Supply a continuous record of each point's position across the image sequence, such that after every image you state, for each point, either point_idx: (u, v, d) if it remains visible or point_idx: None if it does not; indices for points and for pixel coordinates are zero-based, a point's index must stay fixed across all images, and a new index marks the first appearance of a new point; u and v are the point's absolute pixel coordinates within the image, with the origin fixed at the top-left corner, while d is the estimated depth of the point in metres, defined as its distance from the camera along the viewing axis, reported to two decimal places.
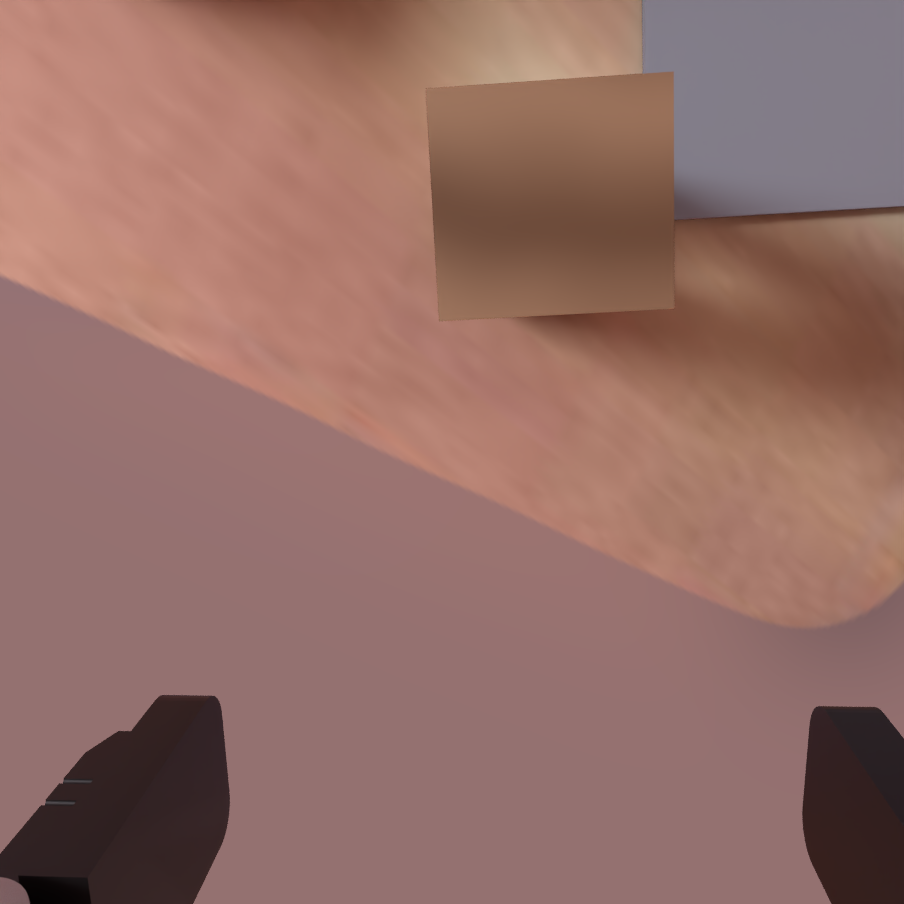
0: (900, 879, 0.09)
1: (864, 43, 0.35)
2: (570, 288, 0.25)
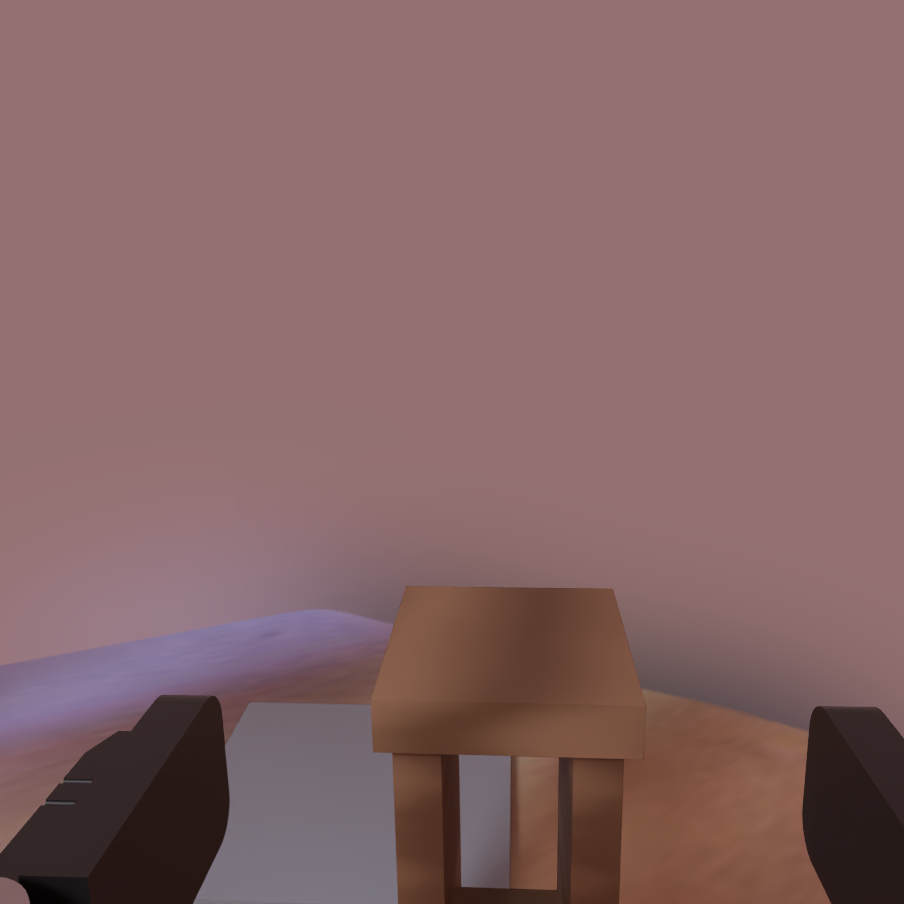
0: (900, 879, 0.09)
1: (371, 761, 0.40)
2: (597, 631, 0.23)
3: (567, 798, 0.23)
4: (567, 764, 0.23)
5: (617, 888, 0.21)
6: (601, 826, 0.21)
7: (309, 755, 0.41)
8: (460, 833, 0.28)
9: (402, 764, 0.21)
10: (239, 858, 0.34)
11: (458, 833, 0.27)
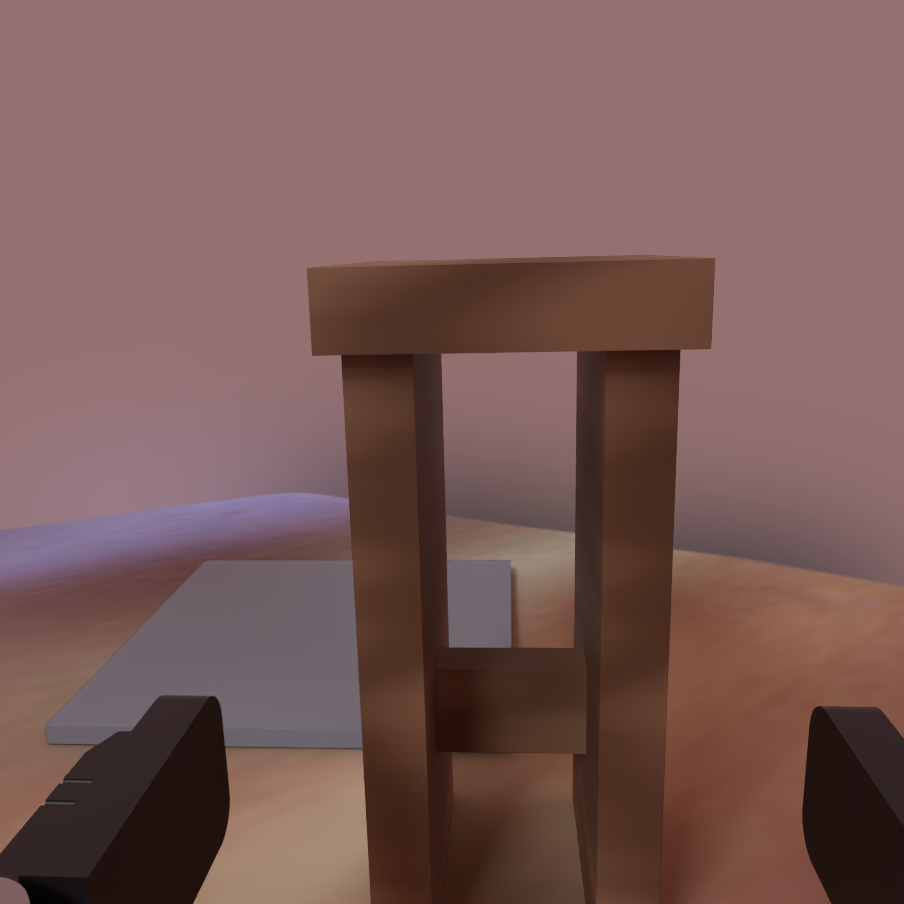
0: (901, 879, 0.09)
1: (345, 605, 0.34)
2: None
3: (593, 477, 0.16)
4: (593, 429, 0.16)
5: (669, 573, 0.15)
6: (646, 473, 0.14)
7: (271, 601, 0.34)
8: (447, 605, 0.22)
9: (357, 386, 0.14)
10: (176, 690, 0.28)
11: (444, 594, 0.21)
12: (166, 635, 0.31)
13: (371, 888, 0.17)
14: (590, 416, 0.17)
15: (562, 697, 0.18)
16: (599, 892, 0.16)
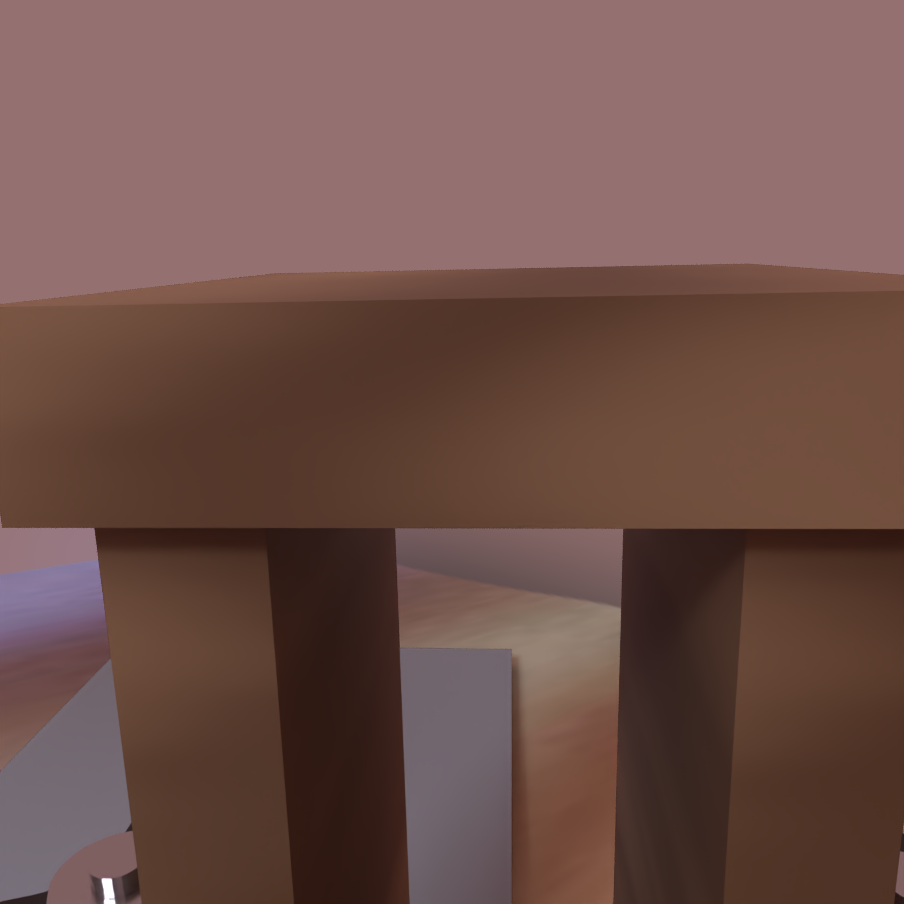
0: None
1: None
2: (752, 271, 0.08)
3: (679, 729, 0.08)
4: (678, 630, 0.08)
5: None
6: (834, 800, 0.06)
7: None
8: (406, 836, 0.13)
9: (135, 587, 0.06)
10: (28, 885, 0.19)
11: (398, 835, 0.12)
12: (41, 776, 0.23)
13: None
14: (669, 591, 0.08)
15: None
16: None
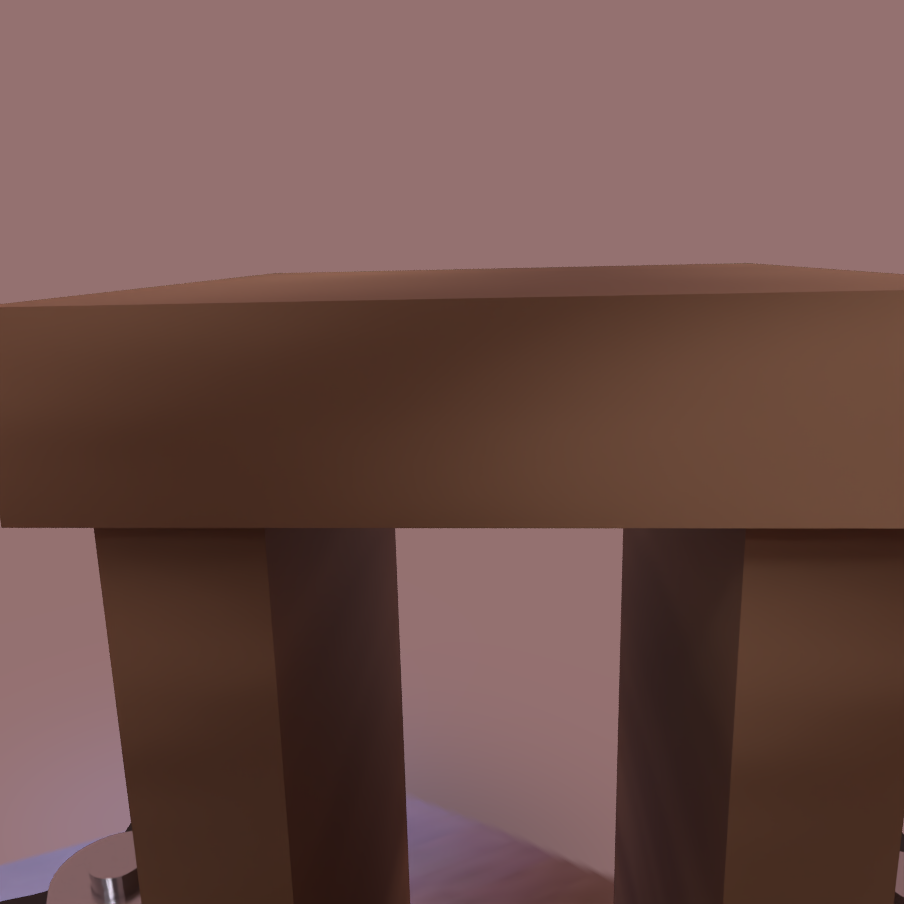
0: None
1: None
2: (752, 270, 0.08)
3: (679, 728, 0.08)
4: (678, 630, 0.08)
5: None
6: (832, 801, 0.06)
7: None
8: None
9: (135, 587, 0.06)
10: None
11: (398, 835, 0.12)
12: None
13: None
14: (668, 591, 0.08)
15: None
16: None
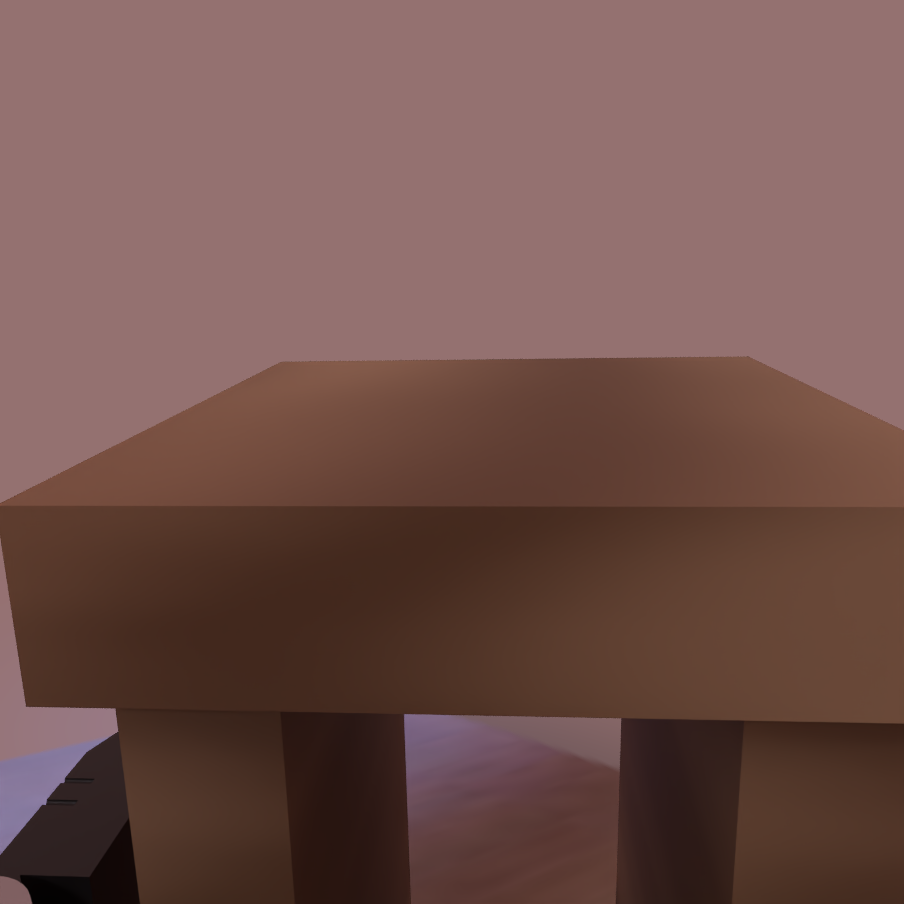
0: None
1: None
2: (752, 394, 0.09)
3: (679, 850, 0.08)
4: (679, 754, 0.08)
5: None
6: None
7: None
8: None
9: (153, 751, 0.06)
10: None
11: None
12: None
13: None
14: None
15: None
16: None
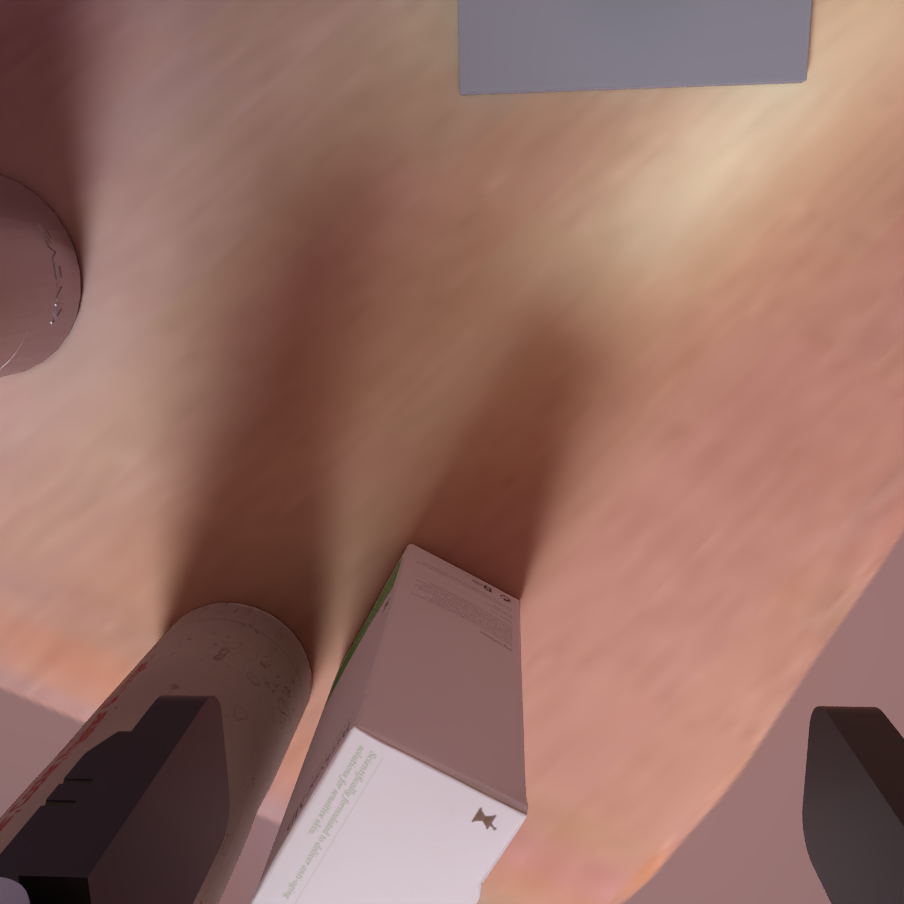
0: (900, 879, 0.09)
1: None
2: None
3: None
4: None
5: None
6: None
7: None
8: None
9: None
10: (537, 31, 0.35)
11: None
12: None
13: None
14: None
15: None
16: None
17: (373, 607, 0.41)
